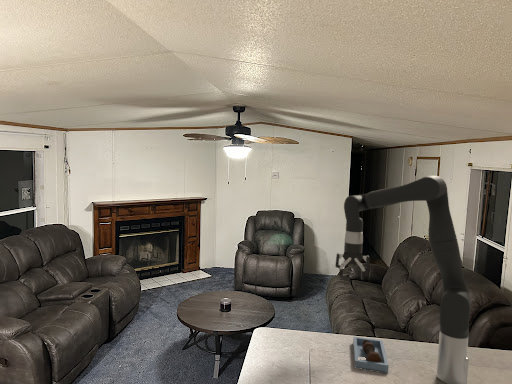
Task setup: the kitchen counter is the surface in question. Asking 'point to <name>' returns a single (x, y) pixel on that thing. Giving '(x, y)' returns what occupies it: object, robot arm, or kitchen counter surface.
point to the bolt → (371, 352)
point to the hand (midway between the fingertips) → (351, 278)
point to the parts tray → (360, 353)
